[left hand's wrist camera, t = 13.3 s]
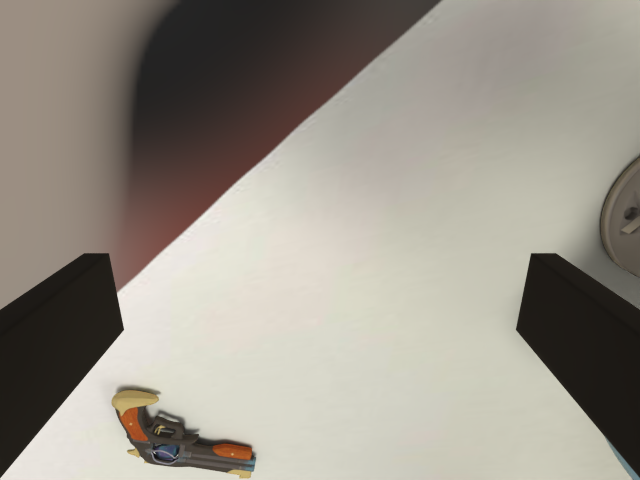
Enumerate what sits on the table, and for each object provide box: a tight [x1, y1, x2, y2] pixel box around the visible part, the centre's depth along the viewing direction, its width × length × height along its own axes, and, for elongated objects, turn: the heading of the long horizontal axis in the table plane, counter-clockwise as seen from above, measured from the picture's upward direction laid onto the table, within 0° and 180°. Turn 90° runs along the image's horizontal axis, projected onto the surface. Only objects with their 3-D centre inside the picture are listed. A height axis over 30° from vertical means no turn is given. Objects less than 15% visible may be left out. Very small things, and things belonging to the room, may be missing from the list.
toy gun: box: [112, 390, 256, 478], centre depth 50 cm, size 3×19×10 cm
